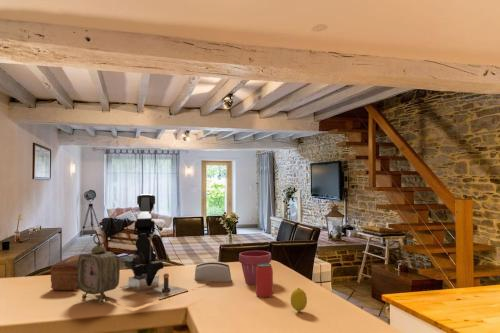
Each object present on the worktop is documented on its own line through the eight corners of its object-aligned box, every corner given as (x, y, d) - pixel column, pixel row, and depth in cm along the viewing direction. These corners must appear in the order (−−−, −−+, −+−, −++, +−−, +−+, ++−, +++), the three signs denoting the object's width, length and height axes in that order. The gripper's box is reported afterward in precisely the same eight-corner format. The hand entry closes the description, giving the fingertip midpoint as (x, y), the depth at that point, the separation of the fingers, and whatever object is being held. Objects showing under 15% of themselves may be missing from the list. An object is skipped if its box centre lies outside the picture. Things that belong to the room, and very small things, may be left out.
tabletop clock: (77, 299, 142) (78, 233, 144) (98, 294, 150) (99, 231, 151) (99, 306, 134) (100, 236, 135) (121, 299, 142) (121, 233, 143)
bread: (44, 292, 153) (45, 262, 154) (80, 276, 181) (80, 250, 182) (77, 292, 152) (77, 262, 153) (107, 276, 180) (108, 250, 181)
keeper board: (119, 289, 156) (119, 269, 156) (146, 282, 167) (146, 264, 168) (160, 300, 141) (160, 278, 141) (187, 291, 152) (187, 271, 152)
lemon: (289, 309, 129) (289, 286, 129) (305, 309, 129) (304, 285, 130) (292, 315, 123) (292, 290, 124) (308, 314, 124) (308, 289, 124)
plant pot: (234, 284, 163) (234, 254, 163) (246, 277, 176) (246, 249, 176) (265, 287, 157) (264, 256, 158) (275, 279, 170) (275, 251, 171)
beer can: (274, 294, 148) (274, 263, 148) (270, 298, 141) (270, 266, 142) (259, 292, 150) (258, 262, 150) (253, 297, 143) (253, 265, 144)
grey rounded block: (231, 278, 173) (231, 259, 170) (231, 284, 168) (230, 265, 165) (195, 279, 173) (194, 259, 170) (194, 285, 168) (192, 265, 165)
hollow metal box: (128, 287, 156) (128, 277, 156) (147, 282, 164) (148, 273, 164) (139, 289, 151) (139, 279, 152) (158, 284, 160) (158, 275, 160)
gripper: (114, 247, 157) (113, 285, 157) (142, 252, 146) (142, 292, 146) (136, 244, 166) (135, 279, 166) (164, 248, 155) (164, 286, 155)
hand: (143, 284), depth 158 cm, fingers closed on hollow metal box, 7 cm apart
